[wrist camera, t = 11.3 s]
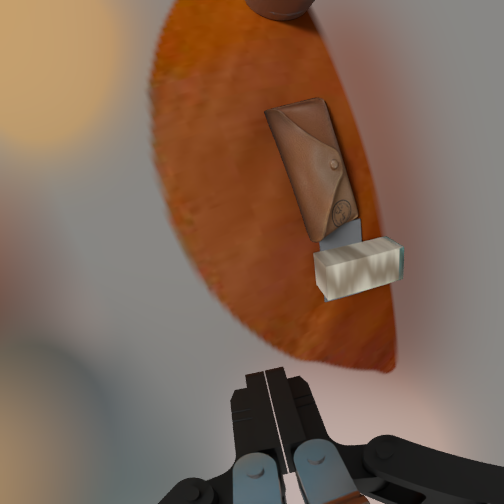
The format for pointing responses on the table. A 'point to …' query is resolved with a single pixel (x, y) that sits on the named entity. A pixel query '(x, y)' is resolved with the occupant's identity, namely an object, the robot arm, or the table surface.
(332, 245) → the rubber mat
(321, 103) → the sunglasses case
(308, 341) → the table surface
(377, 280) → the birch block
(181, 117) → the table surface
